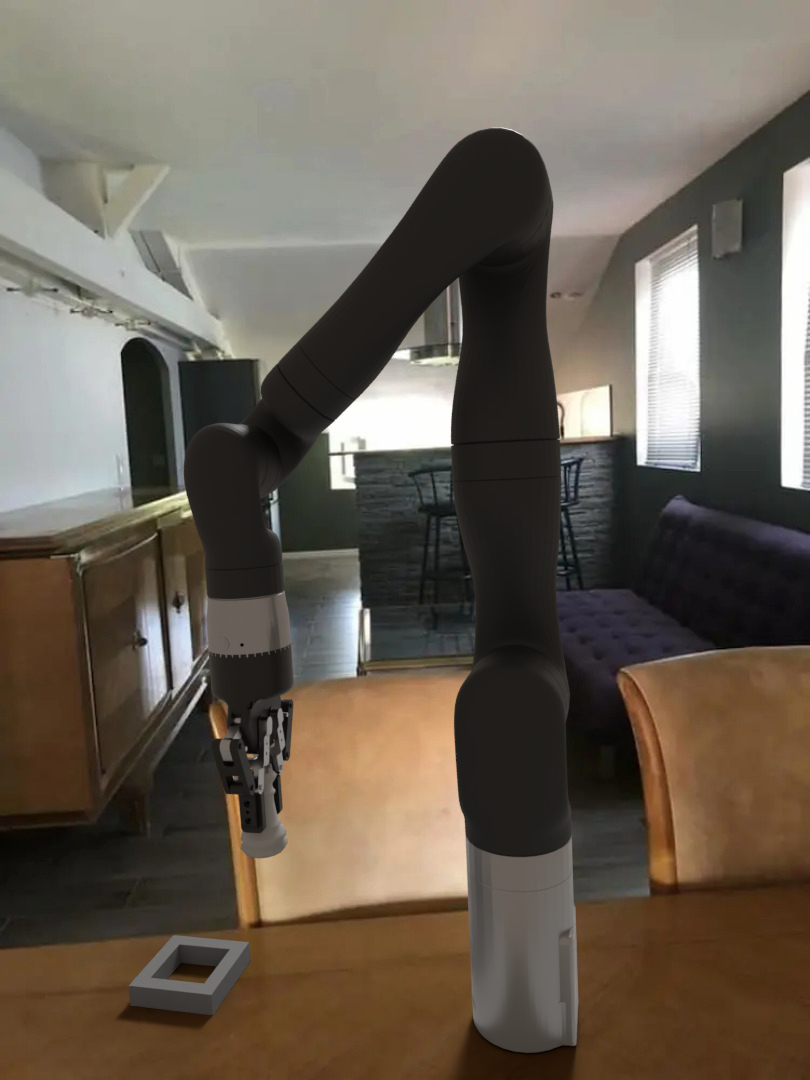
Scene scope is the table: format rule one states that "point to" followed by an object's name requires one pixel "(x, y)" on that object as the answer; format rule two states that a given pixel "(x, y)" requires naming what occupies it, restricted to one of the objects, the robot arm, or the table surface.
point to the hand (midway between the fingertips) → (262, 820)
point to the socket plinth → (190, 996)
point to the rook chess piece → (274, 833)
